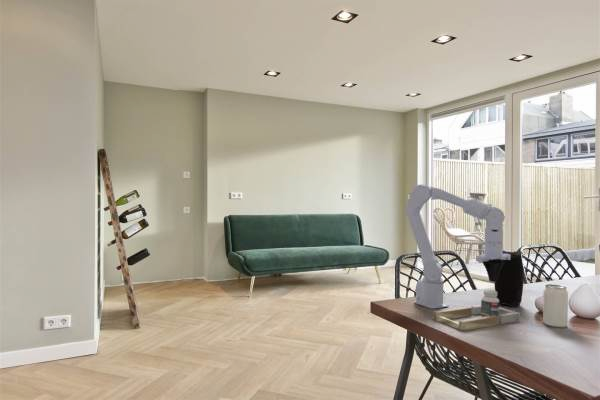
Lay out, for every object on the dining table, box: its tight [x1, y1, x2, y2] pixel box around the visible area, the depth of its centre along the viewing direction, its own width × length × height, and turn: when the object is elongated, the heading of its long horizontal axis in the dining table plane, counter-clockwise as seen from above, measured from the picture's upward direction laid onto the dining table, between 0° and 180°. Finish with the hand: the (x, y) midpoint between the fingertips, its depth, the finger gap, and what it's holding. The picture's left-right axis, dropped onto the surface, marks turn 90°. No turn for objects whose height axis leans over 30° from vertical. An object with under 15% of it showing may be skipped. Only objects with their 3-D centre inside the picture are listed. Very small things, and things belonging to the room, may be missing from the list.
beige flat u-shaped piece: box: [433, 306, 500, 331], centre depth 129 cm, size 12×15×2 cm
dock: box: [470, 304, 520, 325], centre depth 134 cm, size 12×8×2 cm, turn 25°
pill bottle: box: [480, 289, 500, 317], centre depth 133 cm, size 5×5×9 cm
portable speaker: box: [494, 250, 524, 309], centre depth 150 cm, size 9×9×20 cm
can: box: [542, 284, 569, 329], centre depth 127 cm, size 6×6×12 cm
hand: (493, 281), depth 141 cm, fingers closed
